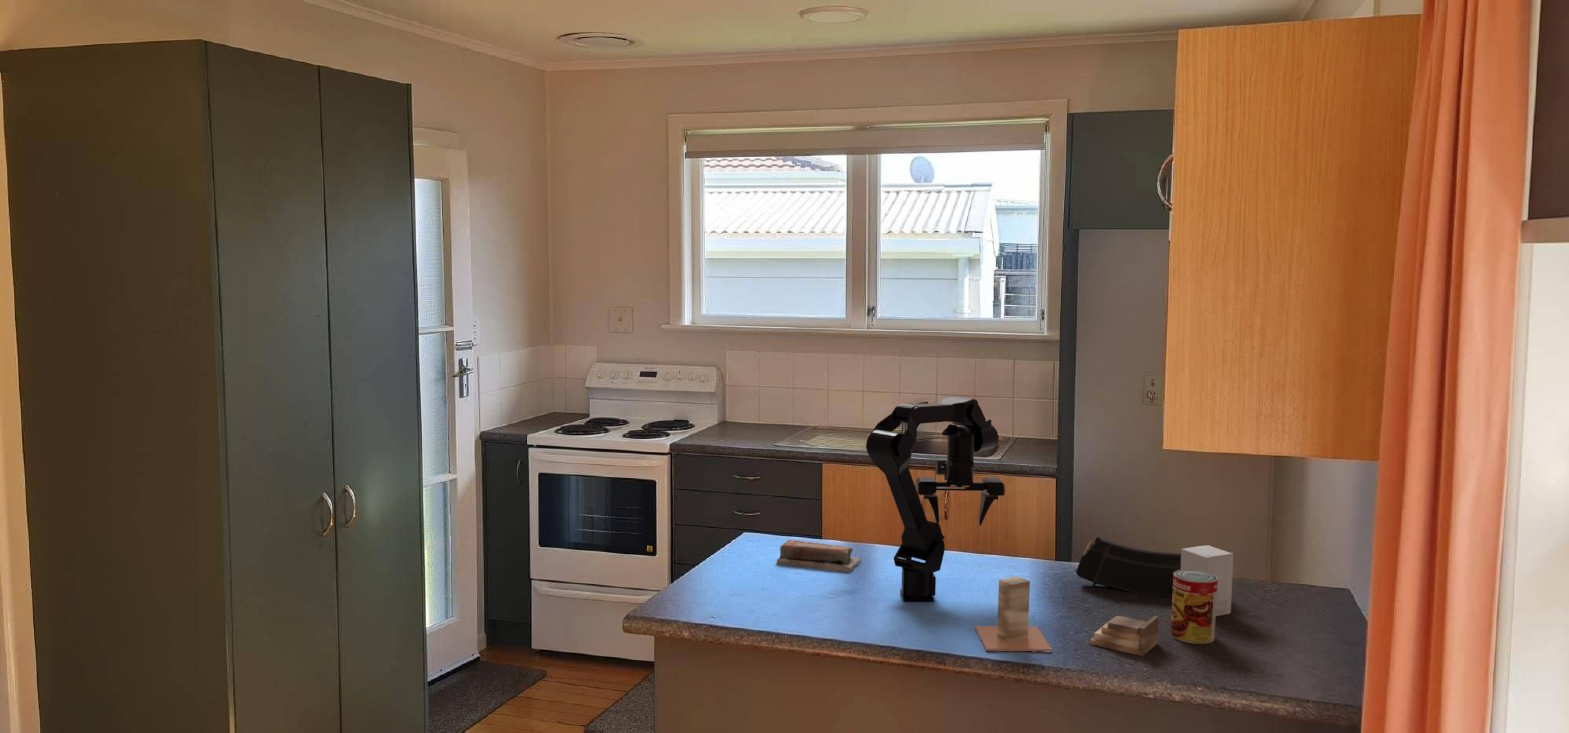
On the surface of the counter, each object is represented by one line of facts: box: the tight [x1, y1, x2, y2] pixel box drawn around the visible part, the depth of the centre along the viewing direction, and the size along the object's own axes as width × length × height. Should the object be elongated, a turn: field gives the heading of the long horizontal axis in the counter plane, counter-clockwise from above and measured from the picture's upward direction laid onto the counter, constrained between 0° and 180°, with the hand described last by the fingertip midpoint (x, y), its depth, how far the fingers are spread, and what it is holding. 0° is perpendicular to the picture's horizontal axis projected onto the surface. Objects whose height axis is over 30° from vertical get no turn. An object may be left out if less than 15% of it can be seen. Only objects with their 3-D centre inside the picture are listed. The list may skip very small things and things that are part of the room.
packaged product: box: [776, 539, 862, 573], centre depth 256 cm, size 18×5×10 cm
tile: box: [974, 625, 1053, 652], centre depth 207 cm, size 12×12×1 cm
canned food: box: [1170, 569, 1218, 645], centre depth 209 cm, size 8×8×12 cm
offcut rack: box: [1089, 615, 1159, 657], centre depth 206 cm, size 10×8×5 cm
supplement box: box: [1180, 544, 1234, 617], centre depth 224 cm, size 7×7×13 cm
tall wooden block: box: [996, 575, 1031, 642], centre depth 206 cm, size 4×4×11 cm
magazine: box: [1075, 535, 1181, 598], centre depth 236 cm, size 17×3×30 cm
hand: (958, 525), depth 240 cm, fingers open, 9 cm apart
